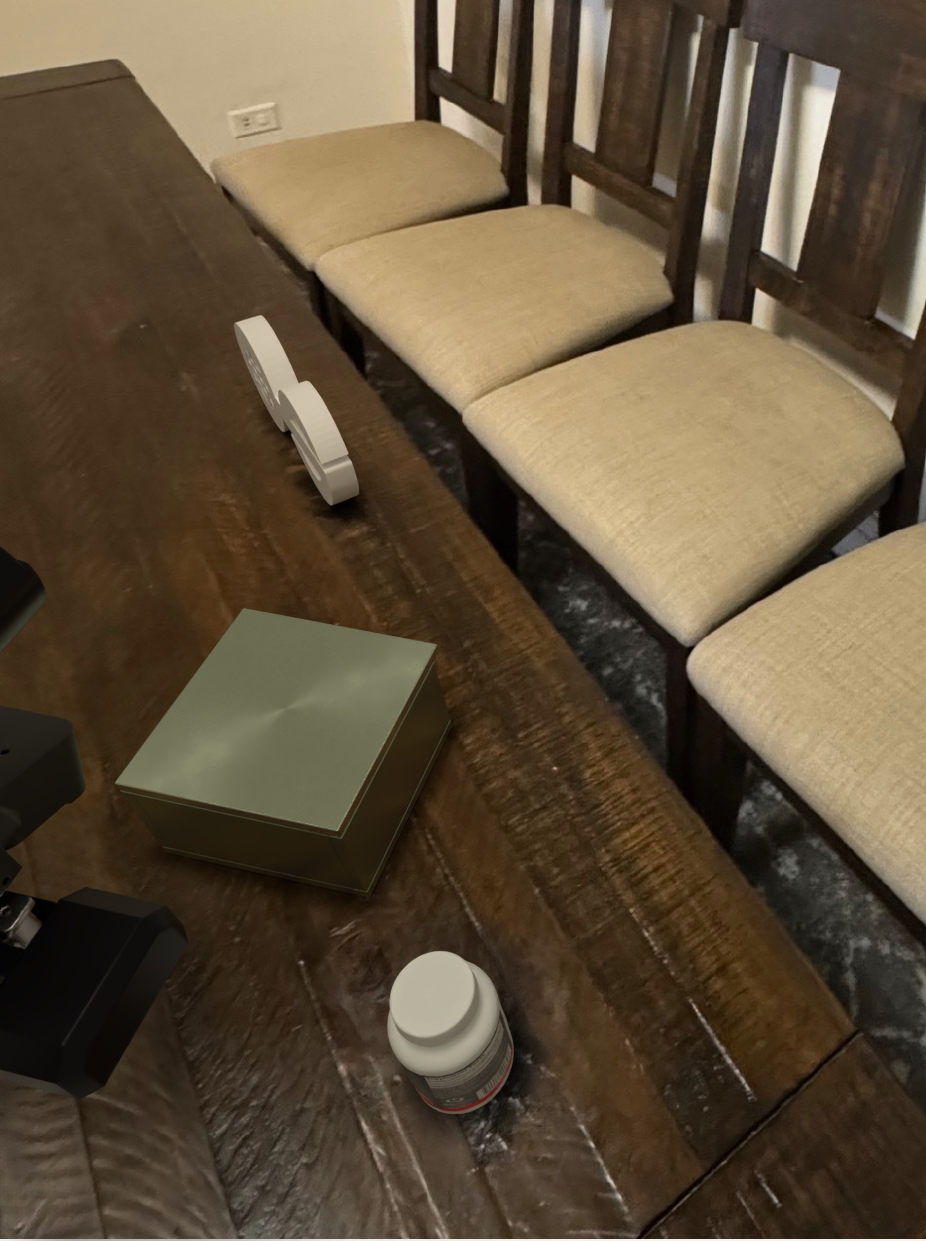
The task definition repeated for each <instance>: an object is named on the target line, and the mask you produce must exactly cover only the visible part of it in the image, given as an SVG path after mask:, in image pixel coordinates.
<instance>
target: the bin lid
mask: <svg viewBox="0 0 926 1241" xmlns="http://www.w3.org/2000/svg"><path fill="white" fill-rule="evenodd" d="M439 653H440V651H439V647H438V644H437V643H432V642H428V641H422V640H417V639H411V638H407V637H400V636H395V635H390V634H385V633H381V632H380V633H378V632H375V631H374V632H373V631H368V630H364V629H357V628H353V627H346V626H342V625H337V624H331V623H325V622H320V621H315V620H310V619H304V618H299V617H293V616H289V615H282V614H278V613H272V612H266V611H261V610H256V609H252V608H246V607H243V608H242V609H241V611H239V613H238V614H237V616H236V617H235V618H234V620H233V622H232V623H231V624H230V625H229V627H228V628H227V629H226V631H225V632H224V634H223V635H222V636H221V638H220V639H219V640H218V642H217V643H216V645H215V646H213V649H211V651H210V653H209V654H208V655H207V656H206V658H205V659H204V661H202V664H201V665H200V666H199V668H198V669H197V670H196V671H195V673H194V675H193V676H192V677H191V678H190V679H189V681H188V682H187V683H186V685H185V686H184V688H183V689H182V691H181V692H180V693H179V695H178V696H177V698H176V699H175V700H174V701H173V703H172V704H171V705H170V707H169V708H168V709H167V711H166V712H165V714H164V715H163V716H162V718H160V720H159V722H158V723H157V724H156V726H155V727H154V729H153V730H152V731H151V733H150V734H149V736H148V737H147V738H146V740H145V741H144V742H143V743H142V745H141V746H140V747H139V749H138V750H137V752H136V753H135V754H134V756H133V757H132V758H131V759H130V761H129V762H128V764H127V765H126V767H125V768H124V769H123V771H122V772H121V774H120V775H119V776H118V778H117V779H116V780H115V781H114V785H115V786H116V787H117V789H118V790H119V791H126V792H131V793H135V794H140V795H145V796H149V797H154V798H158V799H163V800H168V801H172V802H177V803H182V804H186V805H191V806H196V807H200V808H205V809H210V810H214V811H219V812H223V813H228V814H233V815H237V816H242V817H247V818H251V819H256V820H261V821H265V822H270V823H275V824H279V825H284V826H288V827H293V828H298V829H302V830H307V831H312V832H316V833H321V834H326V835H330V836H335V837H342V835H343V833H344V831H345V829H346V827H347V825H348V823H349V821H350V819H351V818H352V816H353V814H354V812H355V810H356V808H357V806H358V804H359V802H360V800H361V799H362V797H363V795H364V793H365V791H366V789H367V787H368V785H369V783H370V781H371V780H372V778H373V776H374V774H375V772H376V770H377V768H378V766H379V764H380V762H381V761H382V759H383V757H384V755H385V753H386V751H387V749H388V747H389V745H390V744H391V742H392V740H393V738H394V736H395V734H396V732H397V730H398V728H399V726H400V725H401V723H402V721H403V719H404V717H405V715H406V713H407V711H408V709H409V707H410V706H411V704H412V702H413V700H414V698H415V696H416V694H417V692H418V690H419V688H420V687H421V685H422V683H423V681H424V679H425V677H426V675H427V673H428V671H429V669H430V668H431V666H432V664H433V662H434V663H435V660H436V659H437V656H438V655H439Z"/></svg>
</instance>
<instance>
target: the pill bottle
mask: <svg viewBox="0 0 926 1241" xmlns="http://www.w3.org/2000/svg"><path fill="white" fill-rule="evenodd" d="M386 1030H387V1037H388V1042H389V1045H390V1048H391V1050H392V1052H393V1055H394V1058H396V1060H397V1061H398V1063H399V1064H400V1065H401V1067H402V1068H403V1070H404V1072H405V1073H406V1075H407V1077H408V1078H409V1080H410V1082H411V1083H412V1086H413V1087H414V1089H415V1091H416V1092H417V1094H418V1095H419V1096H420V1098H421V1099H422V1100H423V1101H424V1103H425V1104H427V1106H429V1107H430V1108H432V1109H433V1110H436V1111H437V1112H439V1113H444V1114H448V1115H463V1114H468V1113H471V1112H474V1111H476V1110H478V1109H480V1108H481V1107H483V1106H485V1105H487V1104H488V1103H489V1102H490V1101H492V1100H493V1099H494V1098H495V1097H496V1096H497V1094H498V1093H499V1092H500V1091H501V1090H502V1088H503V1086H504V1085H505V1084H506V1082H507V1080H508V1078H509V1075H510V1073H511V1070H512V1066H513V1064H514V1062H513V1061H514V1053H515V1052H514V1050H515V1049H514V1041H513V1037H512V1033H511V1030H510V1026H509V1023H508V1019H507V1017H506V1014H505V1012H504V1009H503V1007H502V1005H501V1002H500V998H499V995H498V992H497V989H496V987H495V984H494V983H493V981H492V979H491V978H490V977H489V975H488V974H487V973H486V972H485V971H484V970H483V969H482V968H480V967H479V966H477V965H476V964H474V963H472V962H469V961H468V960H465V959H464V958H463V957H461V956H459V955H458V954H456V953H453V952H451V951H447V950H436V951H430V952H425V953H424V954H421V955H419V956H417V957H416V958H414V959H412V960H411V961H410V962H409V963H408V964H406V965H405V966H404V967H403V969H402V970H400V972H399V973H398V975H397V976H396V978H395V980H394V982H393V984H392V987H391V990H390V995H389V1012H388V1016H387V1025H386Z"/></svg>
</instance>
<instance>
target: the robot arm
mask: <svg viewBox="0 0 926 1241" xmlns="http://www.w3.org/2000/svg"><path fill="white" fill-rule="evenodd" d="M42 581H43V580H42V579H41V577H40V575H39V574H38V573H37V572H36V571H35V569H34V568H33V566H32V565H31V564H29V563H28V562H26V561H24V560H21V559H17V558H15V557H14V555H12V554H11V553H10V552H9V551H7V550H6V549H5V548H3V547H1V546H0V654H2V652H3V651H4V650H5V649H6V648H7V647H8V646H9V645H10V643H12V641H13V640H14V639H15V638H16V637H17V636H18V634H19V633H20V632H21V631H22V630H24V628H25V627H26V626H27V624H29V622H30V621H32V619H33V618H34V616H36V614H37V613H39V611H40V610H41V609H42V608H43V607H44V605H45V602H46V600H47V593H46V587H45V585H44V583H43V582H42ZM83 769H84V768H83V765H82V761H81V756H80V752H79V747H78V743H77V739H76V735H75V730H74V726H73V723H72V722H71V721H70V720H69V719H67V718H64V717H60V716H55V715H50V714H46V713H41V712H35V711H32V710H26V709H21V708H16V707H11V706H6V705H1V704H0V1079H2V1080H5V1081H7V1082H10V1083H12V1084H14V1085H15V1084H16V1085H18V1086H19V1085H20V1086H23V1087H27V1088H31V1089H35V1090H39V1091H43V1092H47V1093H51V1094H55V1095H58V1096H63V1097H67V1098H69V1099H70V1098H71V1099H74V1100H78V1101H81V1100H83V1099H84V1098H86V1097H88V1096H90V1095H91V1094H94V1093H96V1092H97V1091H98V1090H100V1089H102V1088H104V1087H105V1086H106V1085H107V1083H108V1081H109V1079H110V1078H111V1076H112V1075H113V1073H114V1071H115V1069H116V1067H117V1066H118V1064H119V1062H120V1061H121V1059H122V1057H123V1056H124V1054H125V1052H126V1050H127V1049H128V1047H129V1046H130V1044H131V1041H132V1040H133V1038H134V1037H135V1035H136V1033H137V1031H138V1030H139V1028H140V1026H141V1024H142V1023H143V1022H144V1019H145V1017H146V1016H147V1014H148V1012H150V1009H151V1008H152V1006H153V1005H154V1003H155V1001H156V1000H157V997H158V996H159V994H160V992H161V990H162V989H163V987H164V985H165V984H166V983H167V980H168V979H169V976H170V975H171V974H172V972H173V970H174V968H175V966H176V965H177V963H178V961H179V960H180V958H181V956H182V954H183V953H184V952H185V949H186V947H187V946H188V945H189V940H188V937H187V933H186V930H185V925H184V924H183V923H182V922H181V920H179V918H178V917H177V916H176V914H175V913H174V912H173V911H172V910H171V909H170V908H169V907H168V905H166V904H163V903H159V902H154V901H150V900H147V899H141V898H137V897H133V896H129V895H124V894H119V893H115V892H111V891H108V890H107V891H106V890H102V889H97V888H93V887H88V886H85V887H83V888H81V889H79V890H76V891H74V892H72V893H70V894H68V895H65V896H64V897H61V898H59V899H58V901H53V900H49V899H45V898H41V897H37V896H32V895H28V894H24V893H23V894H22V893H20V892H14V891H11V890H7V889H8V888H9V886H10V885H11V884H12V882H14V880H15V878H16V877H17V876H18V874H19V873H20V872H21V871H22V869H23V866H22V864H20V863H19V862H18V861H17V860H16V859H15V858H14V857H13V856H12V854H11V855H10V853H9V852H8V851H10V850H12V849H13V848H15V847H17V846H18V845H20V844H21V843H23V841H25V840H26V839H27V838H28V837H30V836H31V835H32V834H33V833H34V832H35V831H37V829H39V827H41V826H42V825H43V824H44V823H46V822H47V821H49V819H50V818H51V817H52V816H54V815H55V814H56V813H57V812H58V811H60V810H61V809H62V808H63V807H64V806H66V805H68V804H69V805H71V804H73V803H74V802H75V801H77V800H78V798H80V797H81V796H82V795H83V793H84V792H85V791H86V787H87V783H86V778H85V773H84V770H83Z"/></svg>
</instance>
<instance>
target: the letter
mask: <svg viewBox="0 0 926 1241" xmlns="http://www.w3.org/2000/svg"><path fill="white" fill-rule="evenodd" d="M233 330H234V334H235V337H236V341H237V344H238V346H239V349H240V352H241V354H242V357H243V359H244V362H245V365H246V368H247V370H248V372H249V374H250V376H251V379H252V380H253V383H254V385H255V387H256V390H257V392H258V393H259V395H260V398H261V399H262V402H263V404H264V405H265V407H266V409H267V411H268V413H269V415H270V416H271V418H272V420H273V421H274V423H275V424H276V426H277V428H278V429H279V430H280V431H281V432H282V433H285V432H289V431H290V432H291V433H290V435H291V438H292V440H293V442H294V445H295V447H296V449H297V451H298V453H299V456H300V458H301V460H302V463H303V464H304V466H305V468H306V470H307V473H308V474H309V476H310V478H311V479H312V482H313V483H314V485H315V487H316V488H317V490H318V491H319V493H320V494H321V496H322V497H323V499H324V500H325V502H326V503H327V504H328V505H329V506H334V505H336V504H340V503H341V502H344V501H347V500H349V499H351V498H354V497H357V496H359V494H360V486H359V481H358V478H357V474H356V471H355V467H354V465H353V462H352V460H351V458H349V456H348V455H349V451H348V449H347V447H346V444H345V442H344V440H343V437H342V434H341V433H340V430H339V428H338V427H337V424H336V422H335V420H334V418H333V416H332V414H331V413H330V411H329V409H328V406H327V405H326V403H325V401H324V400H323V398H322V397H321V395H320V394H319V392H318V391H317V389H316V388H315V386H313V384H312V383H311V382H310V381H308V380H303V381H301V382H299V380H298V379H297V376H296V373H295V371H294V370H293V366H292V365H291V362H290V360H289V358H288V356H287V354H286V351H285V350H284V348H283V346H282V344H281V342H280V340H279V338H278V337H277V335H276V333H275V331H274V329H273V327H272V326H271V325H270V323H269V322H268V321H267V319H266V318H265V317H264V316H263V315H261V314H260V315H259V314H258V315H255V316H253V317H249V318H246V319H242V320H239V321H236V322H234V323H233Z"/></svg>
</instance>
